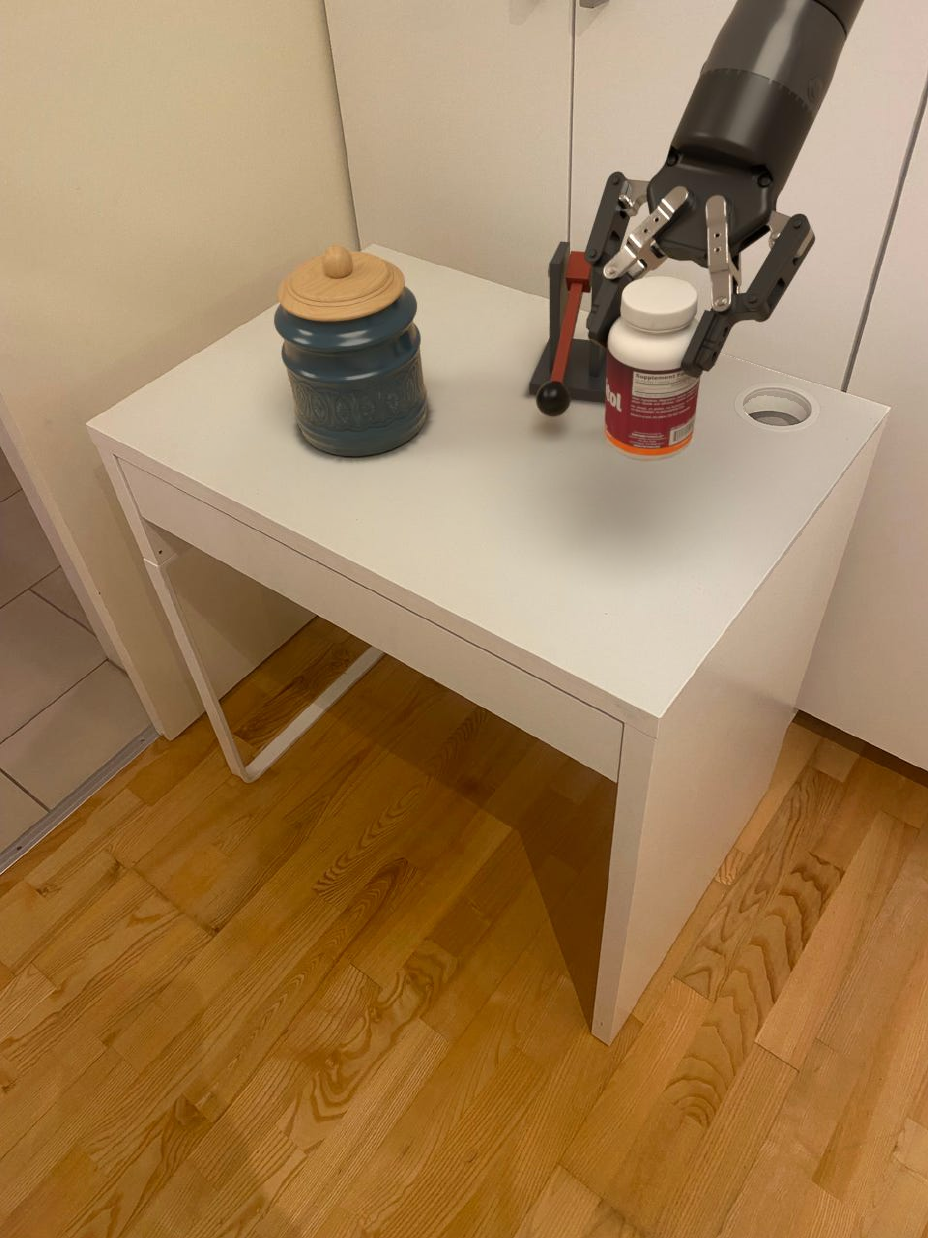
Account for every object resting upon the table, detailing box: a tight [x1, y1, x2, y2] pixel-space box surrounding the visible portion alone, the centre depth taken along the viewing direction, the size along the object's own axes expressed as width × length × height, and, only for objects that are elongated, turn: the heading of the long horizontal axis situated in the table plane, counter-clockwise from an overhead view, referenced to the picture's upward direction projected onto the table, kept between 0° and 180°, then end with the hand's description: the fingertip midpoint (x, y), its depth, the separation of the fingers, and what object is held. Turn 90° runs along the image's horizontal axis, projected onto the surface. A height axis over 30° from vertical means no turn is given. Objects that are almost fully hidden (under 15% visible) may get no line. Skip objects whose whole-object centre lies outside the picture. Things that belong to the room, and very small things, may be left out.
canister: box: [273, 245, 429, 457], centre depth 88 cm, size 13×13×18 cm
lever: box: [535, 250, 592, 418], centre depth 89 cm, size 16×3×3 cm
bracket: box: [528, 241, 607, 403], centre depth 93 cm, size 9×8×13 cm
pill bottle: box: [603, 275, 701, 462], centre depth 63 cm, size 6×6×11 cm
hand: (641, 357), depth 61 cm, fingers closed on pill bottle, 6 cm apart
